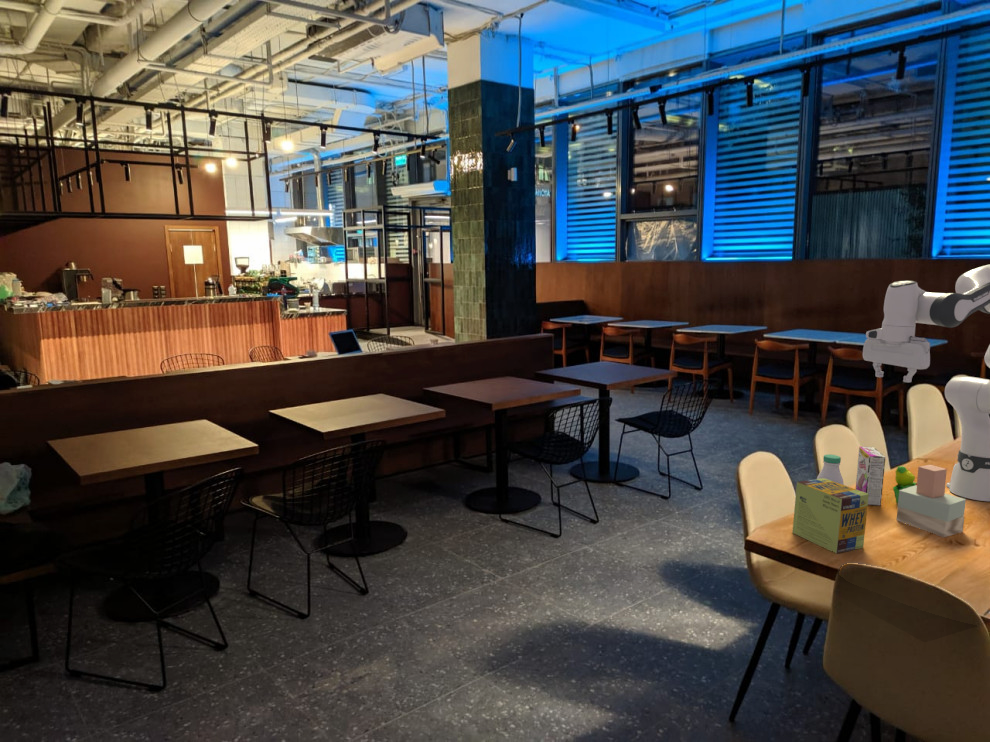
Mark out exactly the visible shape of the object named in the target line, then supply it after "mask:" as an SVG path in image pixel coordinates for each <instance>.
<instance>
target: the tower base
mask: <svg viewBox="0 0 990 742" xmlns="http://www.w3.org/2000/svg"><path fill="white" fill-rule="evenodd" d="M896 520H897V522H899V521H900V523H902V522H903V524H905V523H906V524H905V525H907V524H909V525H908V526H910V525H911V527H913V526H914V527H913V528H916V527H917V528H916V529H918V528H920V529H919V530H921V529H922V531H924V530H926V531H925V532H927V531H928V532H927V533H930V532H931V534H932V533H933V535H935V534H936V536H938V537H941V538H946V537H950V536H953V535H956V534H957V533H958V534H961V533H964V524H965V515H964V516H962V517H959V518H957V519H954V520H951V521H949V522H946V521H943V520H940V519H937V518H934V517H930V516H927V515H924V514H921V513H917V512H914V511H911V510H908V509H905V508H901V507H898V506H897V511H896Z"/></svg>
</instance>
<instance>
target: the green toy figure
mask: <svg viewBox="0 0 990 742" xmlns="http://www.w3.org/2000/svg"><path fill="white" fill-rule="evenodd" d="M894 480H895V482H896V483H897V485H895V486H892V491H893V493H894V497H895V502H896V504H898V498H899V490H902V489H905V488H909V487H912V486H915V485H917V482H916V481H915V480H916V477H915V474H913V473H912V471H910V470H908V468H907V467H906V466H904V465H902V466H900V465H899V466H897V468H896V470H895V479H894Z"/></svg>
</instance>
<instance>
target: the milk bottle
mask: <svg viewBox="0 0 990 742" xmlns="http://www.w3.org/2000/svg"><path fill="white" fill-rule="evenodd" d="M841 460H842V457H841V456H839V455H836V454H832V453H831V454H824V455H823V462H822V463H823V467H822V469H821V471H820V472H819V473H818V475H817V476H816V479H821V478H825V479H828V480H831V481H833V482H836V483H839V484H842V485H845V483H844V478H843V476H842V473H841V470H840V465H841Z"/></svg>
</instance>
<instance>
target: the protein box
mask: <svg viewBox="0 0 990 742" xmlns="http://www.w3.org/2000/svg"><path fill="white" fill-rule="evenodd" d="M868 495H869V494H868V493H865V492H862V491H859V490H856V488H853V487H850V486H847V485H845V484H844V485H842V484H839V483H836V482H833V481H831V480H828V479H825V478H821V479H817V478H816V479H807V480H803V481H797V482H796V488H795V500H794V501H795V502H794V508H793V509H794V510H793V522H792V530H791V531H792V534H794V535H796V536H799V537H800V538H803V539H805V540H807V541H809V542H811V543H813V544H815V545H817V546H820V547H821V548H823V547H824V549H825V548H826V549H825V550H828V551H830V552H832V551H833V552H832V553H834V552H835V553H834V554H840V552H841V553H844V552H849V551H853V550H854V551H855V550H858V549H863V548H864V544H865V533H866V523H867V515H868V514H867V512H868V506H869V505H868Z"/></svg>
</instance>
